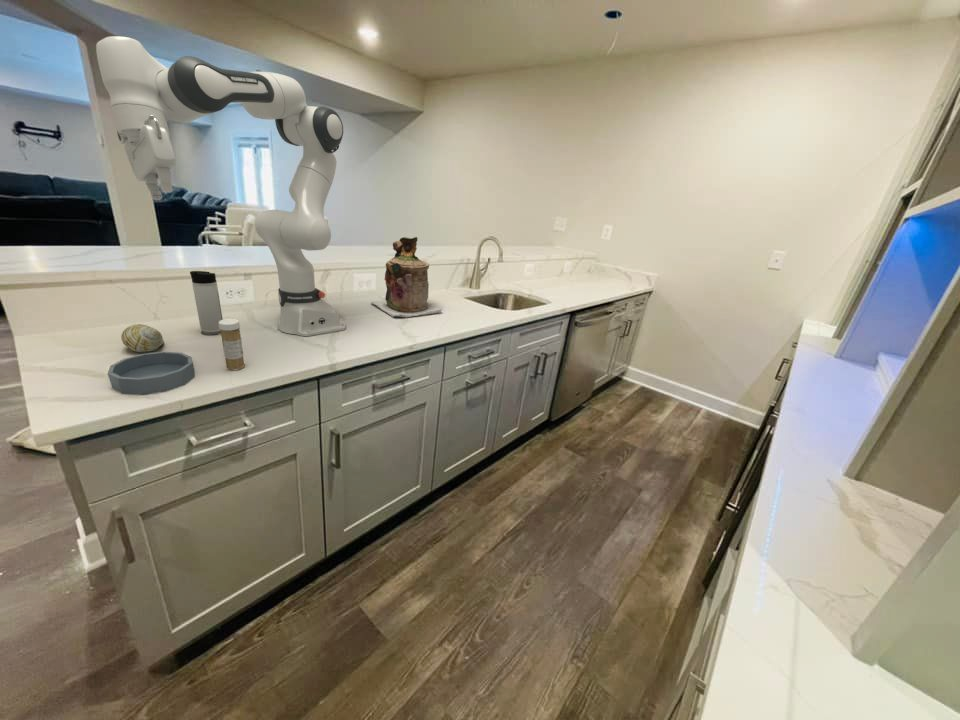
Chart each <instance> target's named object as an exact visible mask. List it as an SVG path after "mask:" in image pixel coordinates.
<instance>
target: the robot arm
mask: <svg viewBox="0 0 960 720" xmlns="http://www.w3.org/2000/svg"><path fill="white" fill-rule="evenodd" d="M95 45H96V46H95V49H96V50H95V51H96V58H97V64H98V69H99V73H100V76H101V80H102V82H103V85H104V87H105V89H106V91H107V92H108V95H109V99H110V104H109V105H110V109H111V113H112V116H113V120H114V123H115V126H116V131H117V138H118V142H119V143H120V144H124V150H125V154H126V156H127V158H128V161H129V165H130V166H131V169H132V172H133V174H134V176H135V178H136V180H138V181H139V182H145V183H144V184H145V186H146V188H147V190H148V191H149V193H150V196H151V199H152V200H155V201H160V200H162V199H163V195H162V193H166V194H171V193H172V192H173V191H174V189H173V186H172V172H171V169H172V168H173V167H175V166H176V165H177V162H176V161H177V160H176V155H175V151H174V149H173V145H172V142H171V133H170V130H169V126H168V123H167V121H170V122H172V123H175V124H187V123H191V122H193V121H195V120H197V119H200V118H202V117H205V116H207V115H209V114H213V113H216V112H219V111H222V110H223V109H225V108H226V107H228V105H229V104H232V103H233V104H235V103H236V104H241V106H242V107H243V108H244V110H245V111H246V112H247V113H248V114H249V115H250V116H252V117H253V118H257V119H261V120H274V122H275V127H276V129H277V133H278V134H279V137H281V139H282V140H283V141H284V142H285V143H287V144H289V145H293V146H295V147H300V146H301V147H302V148H303V149H302V152H303V153H302V158H301V159H300V161H299V163H298V166H297V167H296V170H295V172H294V175H293V177H292V180H291V183H290V184H289V186H288V192H289V195H290V197H291V199H292V200H293V201H294V202H295V203H294V209H293V210H292V211H287V210H282V209H267V210H262V211H260V212H259V213H258V214H257V215H256V217H255V220H254V228H255V232H256V233H257V235H258V236H259V238H261V239H262V241H263V242H265V244H266V245H267V247H268V249H269V250H270V252H271V254H272V257H273V259H274V262H275V265H276V270H277V277H278V286H279V287H278V292H277V294H278V296H277V297H278V303H279V305H280V315H279V322H278V327H277V329H278V330H279V331H280V332H283V333H286V334H290V335H298V336H301V337H310V336H317V335H321V334H322V335H324V334H328V333H334V332H341V331H345V330H346V329H347V325H346V322H345V321H344V319H341V318H340V316H339V312H338V311H337V308H335V307H334V306H333V305H332V304H330V303H328V302H327V301H326V300H324V299H325V297H326V294H325V292H323V291H321V290H320V289H318V288H316V282H315V269H314V266H313V264H312V263H311V262H310V261H309V259H307V258H306V256H305V255H304V253H303V250H304V251H321V250H325V249H326V248H327V247H328V246H329V244H330V243H331V238H332V233H331V228H330V226H329V224H328V223H327V222H326V219H325V215H324V213H325V212H324V209H325V204H326V201H327V198H328V197H329V196H328V195H329V194H330V193H329V192H330V190H331V187H332V184H333V182H334V178H335V175H336V170H337V158H336V156H335V154H334V153H335V152H337V151H338V150H339V147H340V145H341V143H342V139H343V136H344V125H343V122H342V119H341V117H340V115H339V114H338V112H336V111H335V110H333V109H332V108H330V107H326V106H313V105H308V104H307V99H306V93H305V91H304V88H303V87H302V85H301V84H300V83H299V82H298V81H297V80H296V79H295V78H293V77H292V76H287V75H284V74H281V73H277V72H272V71H240V70H233V69H227V68H221V67H217V66H215V65H213V64H211V63H209V62H207V61H205V60H203V59H200V58H199V57H196V56H189V55H186V56H181V57H179V58H178V59H177V60H176V61H175V62H173V64H172V65H170V66H168V67H167V66H165V65H163V63H161V62H160V61H158V60H157V59H156V58H155V57H153V56H152V54H150V53H149V52H148V51H147V50H146V49H145V47H144V46H143V44H142V43H141V42H140V41H139V40H137V39H135V38H132V37H129V36H126V35H119V34H118V35H116V34H115V35H108V36H104V37H103V38H101V39H100V40H99V41H98V42H96V44H95ZM158 181H159V182H158Z"/></svg>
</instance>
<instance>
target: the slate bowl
mask: <svg viewBox="0 0 960 720" xmlns="http://www.w3.org/2000/svg"><path fill="white" fill-rule="evenodd" d="M195 375H196V373H195V366H194V361H193V356H190V355H188V354H185V353H183V352H177V351H155V352H144V353H141V354H136V355H133V356H130V357H125V358H123V359H120V360H119V361H117V362H114V363H113V364H111V365H109V369H108V371H107V376H108V380H109V381H110V385H111V388H112V390H114V391H116V392H118V393H120V394H121V395H135V396H136V395H138V396H145V395H151V394H157V393H158V394H159V393H166V392H169V391H172V390H174V389H178V388H180V387H183V386H186V385H187V384H188V383H189V382H191V381H192V380H193V379H195V378H196V376H195Z"/></svg>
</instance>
